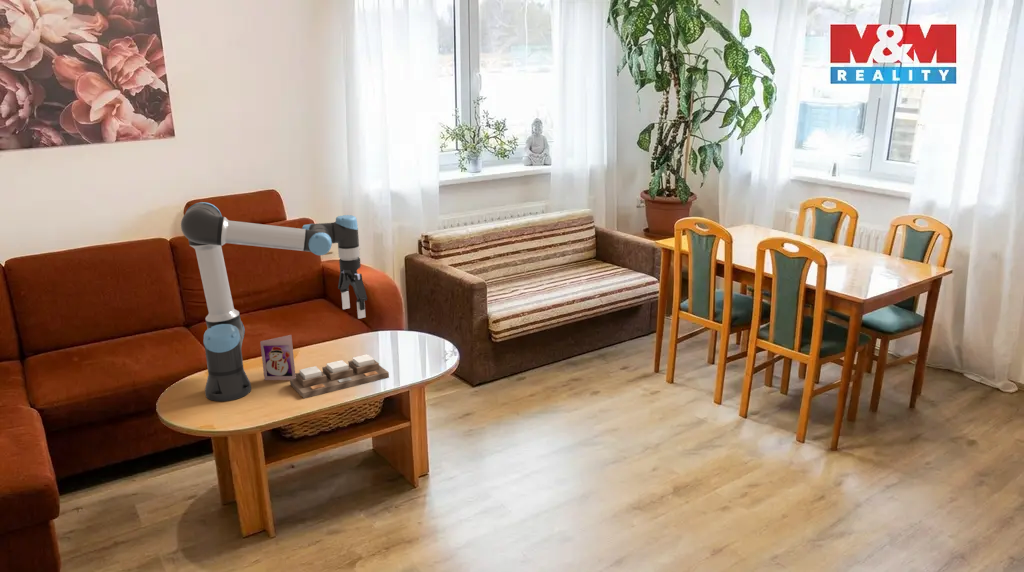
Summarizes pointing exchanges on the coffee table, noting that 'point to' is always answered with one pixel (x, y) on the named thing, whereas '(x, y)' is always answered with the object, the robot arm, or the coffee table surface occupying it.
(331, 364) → the button middle
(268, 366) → the greeting card
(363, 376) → the button board
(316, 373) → the button left
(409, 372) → the coffee table surface
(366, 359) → the button right
